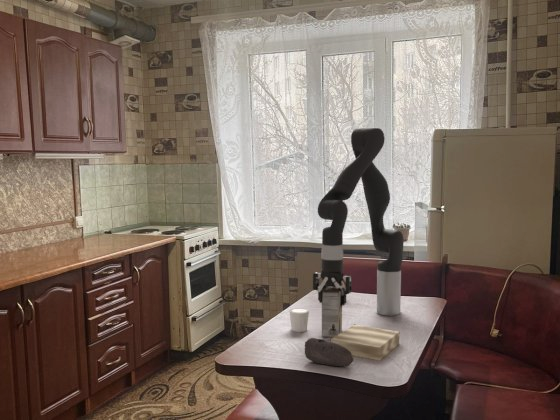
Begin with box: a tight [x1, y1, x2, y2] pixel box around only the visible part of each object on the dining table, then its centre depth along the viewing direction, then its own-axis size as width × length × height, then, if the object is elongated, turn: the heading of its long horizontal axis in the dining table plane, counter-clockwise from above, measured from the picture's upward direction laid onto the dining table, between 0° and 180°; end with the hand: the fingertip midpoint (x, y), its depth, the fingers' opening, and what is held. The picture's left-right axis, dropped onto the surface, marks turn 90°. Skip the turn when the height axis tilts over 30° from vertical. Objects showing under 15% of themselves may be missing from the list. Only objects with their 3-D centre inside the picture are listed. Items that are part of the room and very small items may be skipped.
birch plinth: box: [331, 324, 400, 361], centre depth 179 cm, size 18×16×4 cm
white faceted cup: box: [289, 307, 310, 333], centre depth 198 cm, size 7×7×7 cm
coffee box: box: [321, 286, 343, 338], centre depth 193 cm, size 9×6×16 cm
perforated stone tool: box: [304, 337, 354, 367], centre depth 164 cm, size 15×5×7 cm, turn 59°
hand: (332, 303), depth 193 cm, fingers closed on coffee box, 7 cm apart
